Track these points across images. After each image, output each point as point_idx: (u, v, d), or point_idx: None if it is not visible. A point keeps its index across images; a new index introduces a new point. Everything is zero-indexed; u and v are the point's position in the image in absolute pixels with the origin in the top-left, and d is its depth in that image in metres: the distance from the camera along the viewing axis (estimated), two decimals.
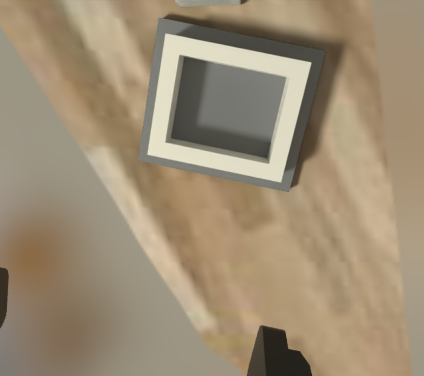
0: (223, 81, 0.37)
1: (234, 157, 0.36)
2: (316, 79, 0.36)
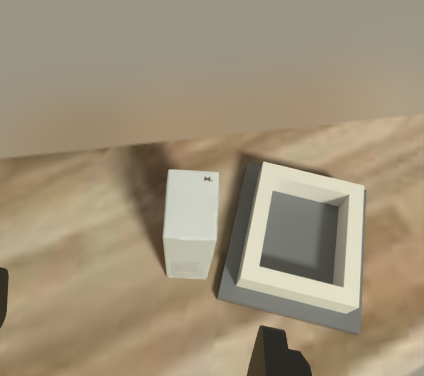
0: (274, 240, 0.40)
1: (348, 223, 0.38)
2: None
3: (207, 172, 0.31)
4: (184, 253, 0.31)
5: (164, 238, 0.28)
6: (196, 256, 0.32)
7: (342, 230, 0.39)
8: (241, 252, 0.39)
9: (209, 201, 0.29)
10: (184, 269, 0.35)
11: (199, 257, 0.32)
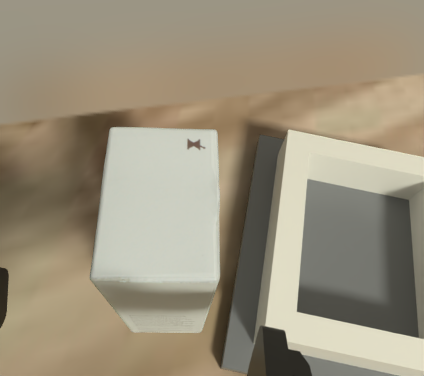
0: (312, 259, 0.24)
1: None
2: None
3: (193, 131, 0.14)
4: (150, 303, 0.15)
5: (95, 281, 0.12)
6: (176, 307, 0.15)
7: None
8: (259, 282, 0.23)
9: (199, 190, 0.13)
10: (158, 323, 0.19)
11: (183, 309, 0.16)
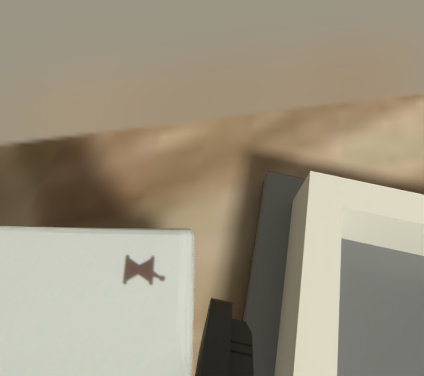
0: (347, 367, 0.16)
1: None
2: None
3: (142, 236, 0.07)
4: None
5: None
6: None
7: None
8: None
9: None
10: None
11: None
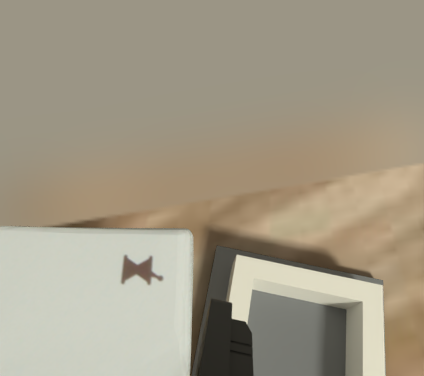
0: (256, 372, 0.27)
1: (363, 350, 0.26)
2: (247, 254, 0.32)
3: (140, 236, 0.07)
4: None
5: None
6: None
7: (354, 356, 0.27)
8: None
9: None
10: None
11: None
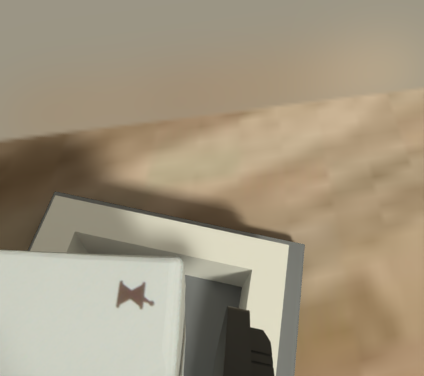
0: None
1: None
2: (100, 204, 0.21)
3: (135, 263, 0.07)
4: None
5: None
6: None
7: None
8: None
9: None
10: None
11: None
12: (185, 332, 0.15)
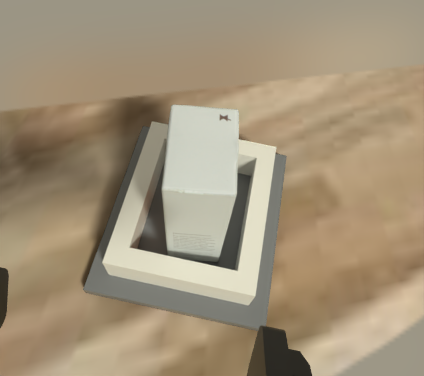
0: None
1: (251, 191, 0.31)
2: None
3: (223, 109, 0.23)
4: (190, 218, 0.23)
5: (164, 191, 0.20)
6: (206, 223, 0.24)
7: (247, 202, 0.32)
8: None
9: (226, 144, 0.22)
10: (190, 245, 0.27)
11: (210, 226, 0.24)
12: None
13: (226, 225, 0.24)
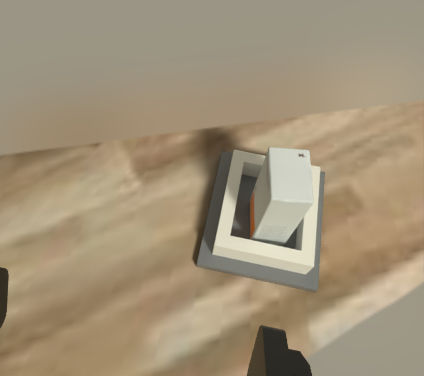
0: (245, 216, 0.47)
1: None
2: None
3: (300, 150, 0.37)
4: (280, 216, 0.38)
5: (271, 200, 0.35)
6: (288, 219, 0.38)
7: None
8: (216, 226, 0.46)
9: (304, 172, 0.36)
10: (270, 234, 0.42)
11: (290, 221, 0.39)
12: None
13: (300, 220, 0.38)
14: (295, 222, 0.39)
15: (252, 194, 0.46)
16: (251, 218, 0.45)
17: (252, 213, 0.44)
